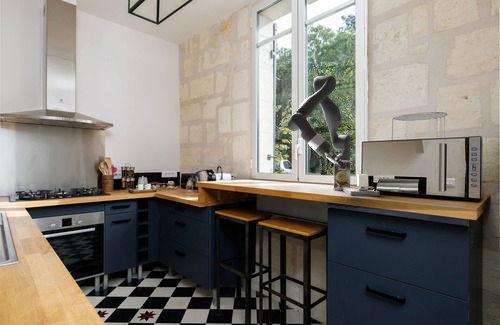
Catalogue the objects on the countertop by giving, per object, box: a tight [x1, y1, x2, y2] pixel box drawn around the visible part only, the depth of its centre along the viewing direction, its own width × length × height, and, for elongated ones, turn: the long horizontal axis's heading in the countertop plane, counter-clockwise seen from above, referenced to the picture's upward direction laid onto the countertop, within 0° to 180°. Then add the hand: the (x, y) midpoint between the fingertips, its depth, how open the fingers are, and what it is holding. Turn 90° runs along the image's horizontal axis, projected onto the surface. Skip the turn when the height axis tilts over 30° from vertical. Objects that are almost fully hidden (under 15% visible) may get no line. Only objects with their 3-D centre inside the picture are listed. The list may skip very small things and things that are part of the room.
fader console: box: [342, 187, 380, 197], centre depth 142 cm, size 21×13×2 cm, turn 171°
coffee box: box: [333, 161, 351, 191], centre depth 160 cm, size 9×6×16 cm
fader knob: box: [356, 173, 369, 190], centre depth 136 cm, size 4×4×8 cm
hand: (343, 167), depth 137 cm, fingers open, 8 cm apart
